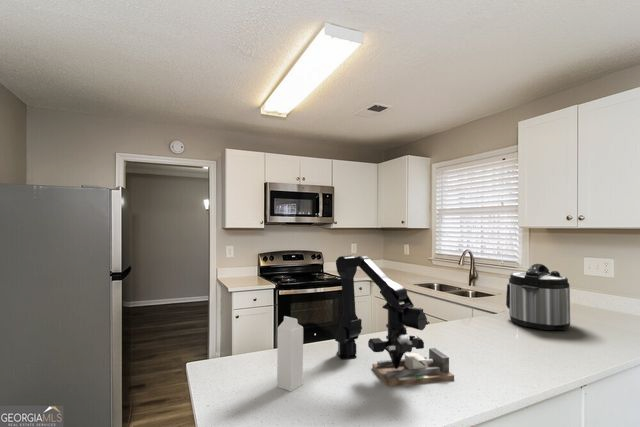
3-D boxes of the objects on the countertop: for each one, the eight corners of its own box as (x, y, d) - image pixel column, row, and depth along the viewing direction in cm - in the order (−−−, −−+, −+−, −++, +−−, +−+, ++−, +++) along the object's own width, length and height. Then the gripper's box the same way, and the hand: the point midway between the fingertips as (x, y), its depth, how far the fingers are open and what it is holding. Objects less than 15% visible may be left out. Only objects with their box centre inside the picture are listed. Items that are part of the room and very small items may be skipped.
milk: (289, 379, 113) (289, 313, 114) (303, 384, 110) (303, 316, 110) (276, 386, 108) (277, 317, 109) (290, 392, 105) (291, 321, 105)
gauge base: (387, 386, 108) (387, 366, 109) (372, 368, 122) (372, 350, 122) (454, 379, 113) (454, 360, 114) (432, 362, 127) (432, 345, 127)
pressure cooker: (541, 315, 193) (540, 260, 194) (587, 331, 166) (586, 266, 166) (494, 317, 189) (493, 261, 190) (533, 334, 161) (533, 267, 162)
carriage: (417, 377, 111) (417, 365, 111) (404, 365, 121) (404, 353, 121) (442, 374, 113) (442, 362, 113) (427, 363, 123) (427, 352, 123)
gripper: (380, 332, 107) (379, 381, 107) (432, 328, 111) (432, 376, 111) (367, 322, 118) (367, 366, 118) (416, 319, 122) (415, 362, 122)
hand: (395, 368), depth 117 cm, fingers closed
